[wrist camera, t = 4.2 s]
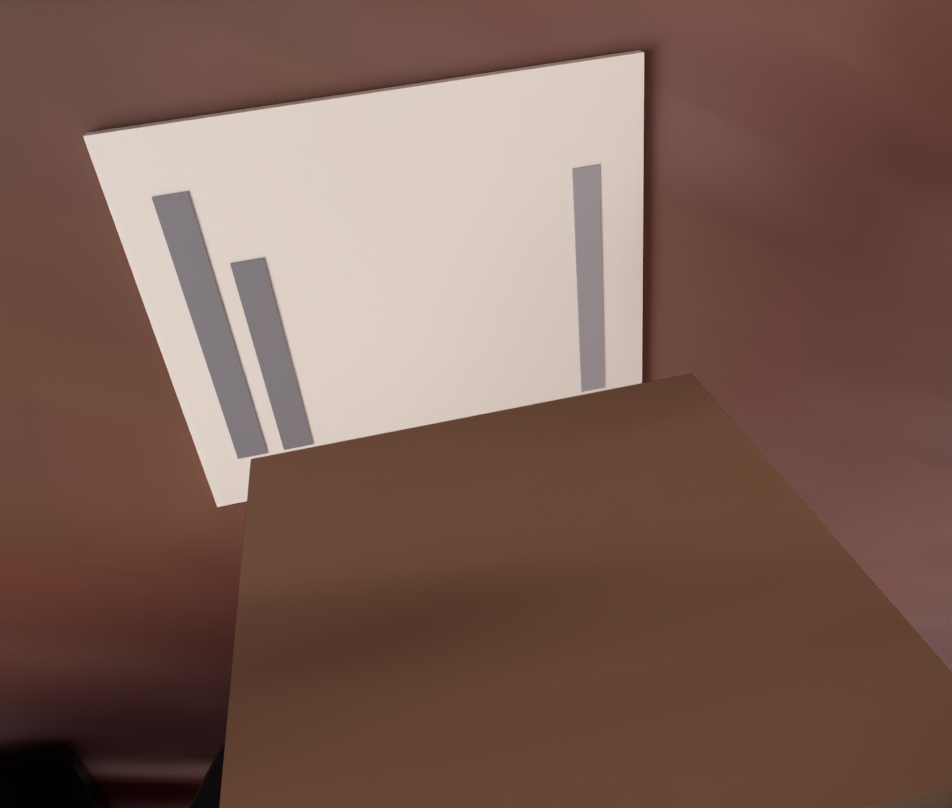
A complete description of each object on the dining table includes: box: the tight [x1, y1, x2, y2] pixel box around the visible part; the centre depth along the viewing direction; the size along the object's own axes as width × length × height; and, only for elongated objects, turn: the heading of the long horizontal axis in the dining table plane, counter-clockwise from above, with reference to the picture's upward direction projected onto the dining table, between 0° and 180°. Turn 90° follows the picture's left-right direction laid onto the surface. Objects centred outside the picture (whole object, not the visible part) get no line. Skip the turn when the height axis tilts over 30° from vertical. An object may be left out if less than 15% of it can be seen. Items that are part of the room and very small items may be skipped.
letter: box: [83, 50, 644, 507], centre depth 18 cm, size 9×11×1 cm
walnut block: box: [219, 374, 952, 808], centre depth 8 cm, size 5×5×5 cm
